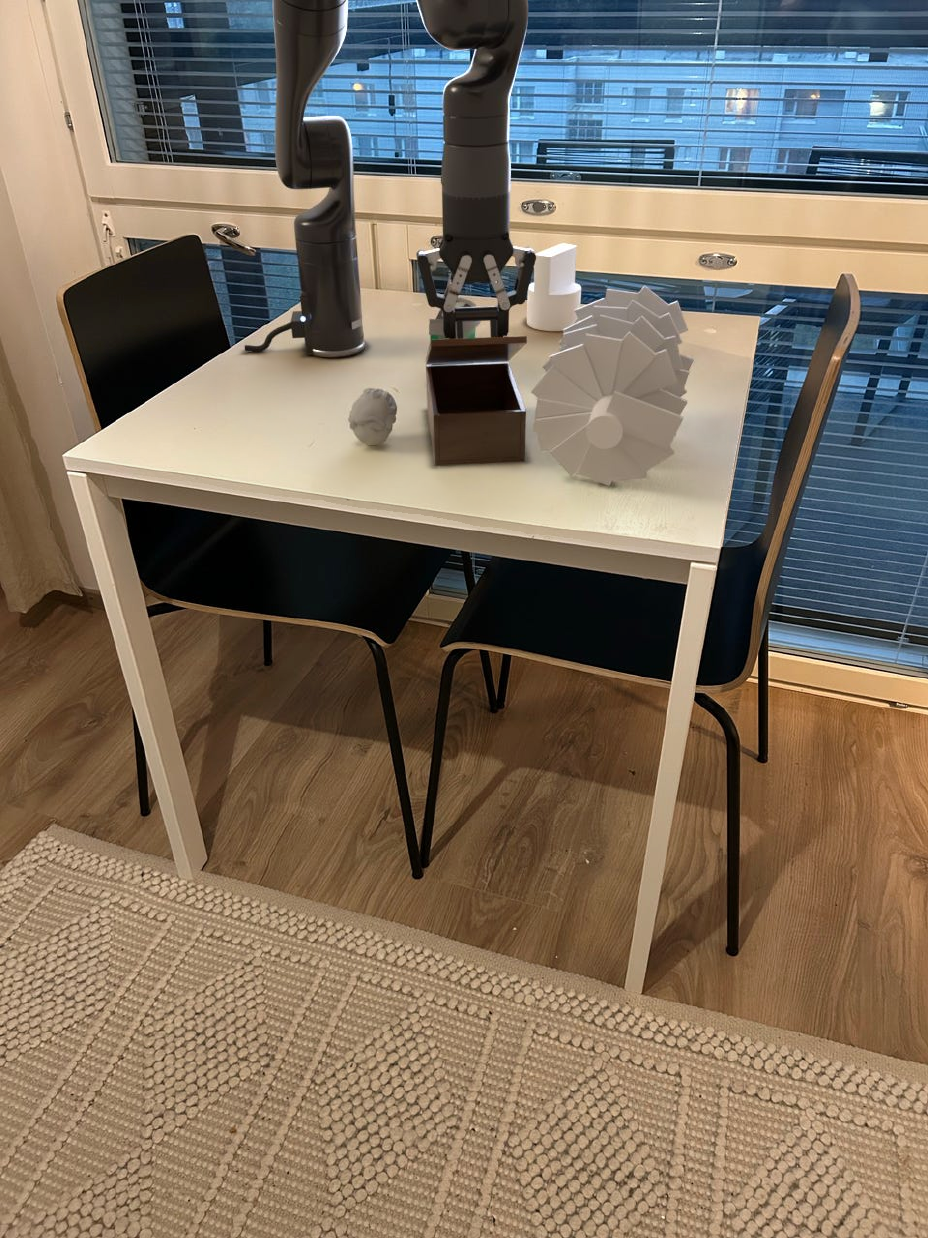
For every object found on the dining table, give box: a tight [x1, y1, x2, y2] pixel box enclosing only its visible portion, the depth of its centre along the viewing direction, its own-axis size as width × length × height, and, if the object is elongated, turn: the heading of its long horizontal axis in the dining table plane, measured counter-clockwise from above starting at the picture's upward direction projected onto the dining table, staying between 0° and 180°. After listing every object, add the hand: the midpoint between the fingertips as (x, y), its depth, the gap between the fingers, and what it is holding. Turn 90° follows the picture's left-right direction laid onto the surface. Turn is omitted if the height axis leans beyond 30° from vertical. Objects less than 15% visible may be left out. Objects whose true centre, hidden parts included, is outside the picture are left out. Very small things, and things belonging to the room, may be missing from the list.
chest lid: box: [425, 305, 528, 366], centre depth 116 cm, size 18×11×5 cm, turn 5°
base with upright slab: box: [526, 243, 582, 332], centre depth 157 cm, size 9×9×12 cm
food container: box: [428, 296, 482, 365], centre depth 138 cm, size 12×6×10 cm, turn 168°
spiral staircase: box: [530, 285, 695, 487], centre depth 113 cm, size 18×18×25 cm
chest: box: [425, 361, 527, 466], centre depth 121 cm, size 17×11×7 cm, turn 5°
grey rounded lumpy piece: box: [347, 387, 398, 446], centre depth 119 cm, size 6×7×7 cm
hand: (475, 339), depth 112 cm, fingers closed on chest lid, 5 cm apart
